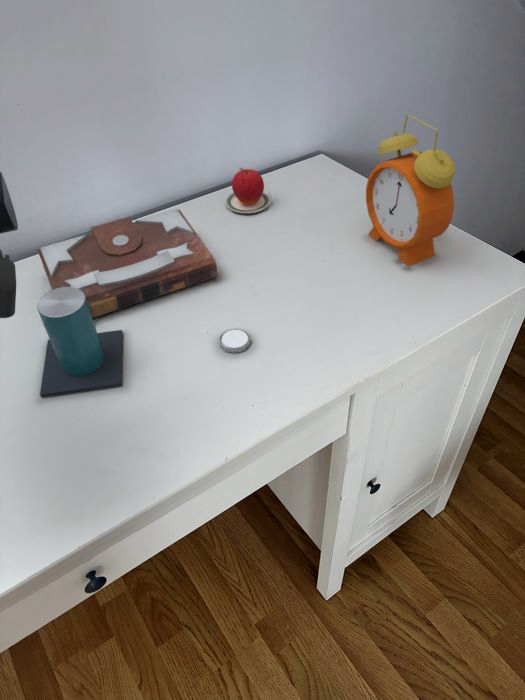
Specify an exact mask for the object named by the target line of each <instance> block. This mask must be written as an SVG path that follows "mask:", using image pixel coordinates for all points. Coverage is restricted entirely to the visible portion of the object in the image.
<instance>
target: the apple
mask: <svg viewBox="0 0 525 700" xmlns="http://www.w3.org/2000/svg"><path fill="white" fill-rule="evenodd" d="M231 189H232V193H230V194H229V195H227V197H226V198H225V201H224V202H225V206H226V207H227V209H229V210H230V211H232V212H235V213H238V214H239V213H240V214H255V213H258V212H261V211H263V210H265V209H267V208H268V206H270V203H271V197H270V196H269V195H268V194H267V193H265V192H264V190H265V183H264V179H263V176H262V175H261V173H260V172H258V170H255V169H250V168H244V169H243V168H242V167H239V171H237V172H236V173H235V175H234V177H233V178H232V181H231Z"/></svg>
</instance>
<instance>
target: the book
mask: <svg viewBox="0 0 525 700" xmlns="http://www.w3.org/2000/svg"><path fill="white" fill-rule="evenodd" d="M90 231H91V234H89V235H87V234H84V235H80V236H76V237H73V238H70V239H66V240H62V241H60V242H56V243H51V244H49V245H45V246H42V247H41V246H40V247H39V248H38V249H37V254H38V256H39V258H40V261H41V263H42V265H43V269H44V273H45V275H46V277H47V279H48V282H49V284H50V287H51V289H52V290H54V289H57V288H61V287H74V288H77V289H79V290H81V291H82V292H83V293H84V294H85V296H86V299H87V303H88V306H89V309H90V312H91V315H92V318H93V319H95V318H97V317H100V316H103V315H106V314H109V313H111V312H115V311H118V310H121V309H125V308H127V307H130V306H133V305H136V304H139V303H142V302H145V301H148V300H151V299H154V298H157V297H160V296H163V295H167V294H170V293H172V292H175V291H179V290H181V289H185V288H187V287H190V286H193V285H196V284H200V283H202V282H205V281H209V280H211V279H214V278H217V277H218V264H217V262H216V259H215V257H214V256H213V254H212V253H211V251H210V250H209V249H208V247H207V246H206V244H205V243H204V242H203V240H202V239H201V238H200V236H199V234H198V233H197V232H196V230H195V229H194V228H193V226H192V225H191V224H190V222H189V220H188V219H187V218H186V217H185V215H184V214H183V212H182V211H181V209H178V208H175V209H171V210H167V211H164V212H160V213H157V214H153V215H149V216H146V217H143V218H140V219H139V218H138V219H136V220H135V221H133V220H132V218H131V217H130V216H126V217H122V218H119V219H116V220H113V221H108V222H106V223H105V222H104V223H101V224H98V225H95V226H91V227H90Z"/></svg>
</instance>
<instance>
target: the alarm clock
mask: <svg viewBox="0 0 525 700" xmlns="http://www.w3.org/2000/svg"><path fill="white" fill-rule="evenodd" d="M408 117H410V118H411V119H413V120H415V121H418V122H419V123H421V124H422V125H425V126H426V127H428V128H430V129H432V130H435V139H434V145H433V148H431V149H427V150H424V151H418V150H416V149H414V148H412V149H411V150H410V152H409V153H406V154H402V150H404V149H407V148H411V147H414V146H416V145H419V141H418V139H417V137H416V136H415V135H414V134H413V133H408V132H407V133H405V132H406V131H405V130H406V127H407V122H408ZM438 135H439V130H438V128H435V127H433V126H431V125H430V124H428V123H426V122H424V121H423V120H420V119H418V118H417V117H415V116H413V115H411V114H407V115H406V116H405V119H404V125H403V129H402V133H398V131H397V130H396V131H393V136H391V137H389V138H386V139H384V140H382V141H381V142H380V144H379V147H378V156H381V155H384V154H389V153H393V152H396V153H397V156H396V157H393V158H390V159H387V160H384V161H381V162H379V164H378V165H376V166H374V168H373V169H372V170H371V172H370V174H369V175H368V179H367V183H366V187H365V202H366V203H365V204H366V209H367V214H368V217H369V219H370V222H371V225H372V228H371V230H370V231H369V233H368V237H369V238H371V239H373V241H375V242H379V241H381V240H383V241H384V242H385V243H386V244H387V245H390V246H391V247H393V248H395V249H397V254H398V260H399V261H400V262H402V263H403V264H404V265H405V266H407V267H411V266H414V265H416V264H418V263H421V262H423V261H425V260H428V259H431V258H433V257H435V256H436V254H435V253H436V252H435V245H434V244H435V243H434V238H438V237H439V236H440V237H441V236H442V235H443V234H444V233H445V232H446V231H447V229H448V228H449V226H450V225H451V222H452V219H453V217H454V208H455V197H454V190H453V186H452V184H451V182H452V181H453V179H454V177H455V174H456V167H455V163H454V161H453V159H452V157H451V156H450V155H449V154H448V153H447V152H445V151H443V150H440V149H437V144H438V143H437V142H438Z"/></svg>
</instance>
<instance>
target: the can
mask: <svg viewBox="0 0 525 700" xmlns="http://www.w3.org/2000/svg"><path fill="white" fill-rule="evenodd" d="M36 310H37V313H38V314H39V317H40V319H41V322H42V324H43V327H44V329H45V331H46V334H47V337H48V340H49V339H50V341H51V344H52V346H53V349H54V351H55V353H56V356H57V358H58V361H59V363H60V366H61V368H62V370H63V371H64V372H65V373H67V374H69V375H72V376H83V375H87V374H90V373H92V372H94V371H96V370H97V369H98V368H99V367H100V366H101V365H102V363H103V361H104V352H103V349H102V346H101V343H100V340H99V337H98V333H99V332H98V331H97V327H96V325H95V321H94V318H92V315H91V312H90V309H89V306H88V303H87V299H86V296H85V294H84V293H83V292H82V291H81V290H79V289H77V288H74V287H61V288H57V289H54V290H49V291H47V292H45V294H43V296H41V297H40V299H39V300H38V302H37V307H36Z"/></svg>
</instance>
